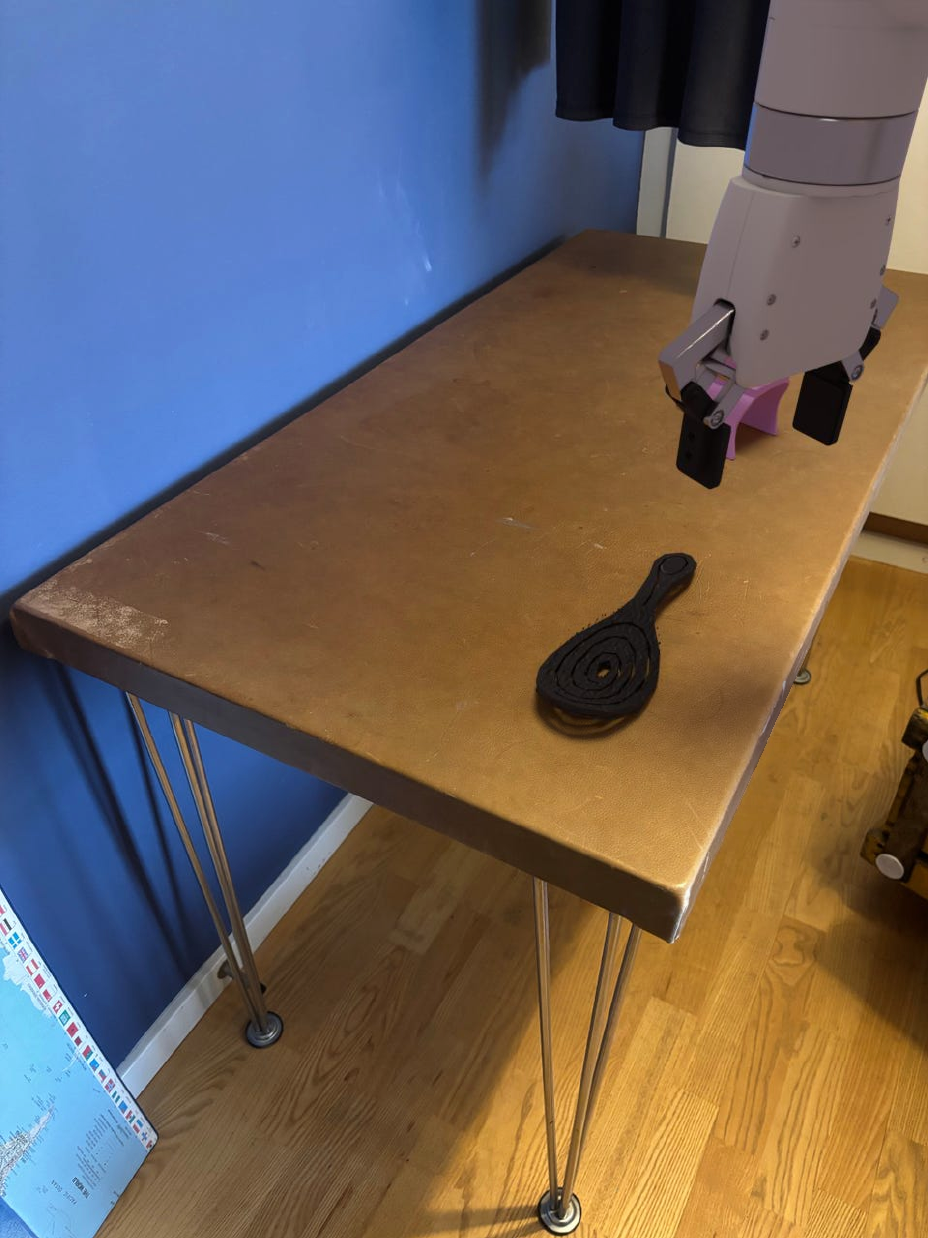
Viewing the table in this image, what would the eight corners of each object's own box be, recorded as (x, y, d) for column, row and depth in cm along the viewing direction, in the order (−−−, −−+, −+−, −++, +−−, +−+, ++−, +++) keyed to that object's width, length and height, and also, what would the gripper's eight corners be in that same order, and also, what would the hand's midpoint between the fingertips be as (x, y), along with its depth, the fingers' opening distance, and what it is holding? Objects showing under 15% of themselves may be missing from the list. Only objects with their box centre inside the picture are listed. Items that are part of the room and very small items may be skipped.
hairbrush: (736, 547, 78) (619, 714, 61) (728, 583, 80) (613, 754, 63) (645, 521, 82) (511, 672, 64) (640, 556, 84) (509, 711, 67)
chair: (787, 436, 100) (820, 300, 90) (741, 463, 95) (770, 323, 86) (724, 411, 105) (749, 279, 95) (676, 436, 100) (698, 300, 91)
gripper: (880, 113, 51) (809, 400, 61) (638, 154, 44) (606, 468, 54) (1004, 138, 46) (903, 445, 56) (752, 188, 39) (692, 527, 49)
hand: (757, 456), depth 55 cm, fingers open, 9 cm apart
